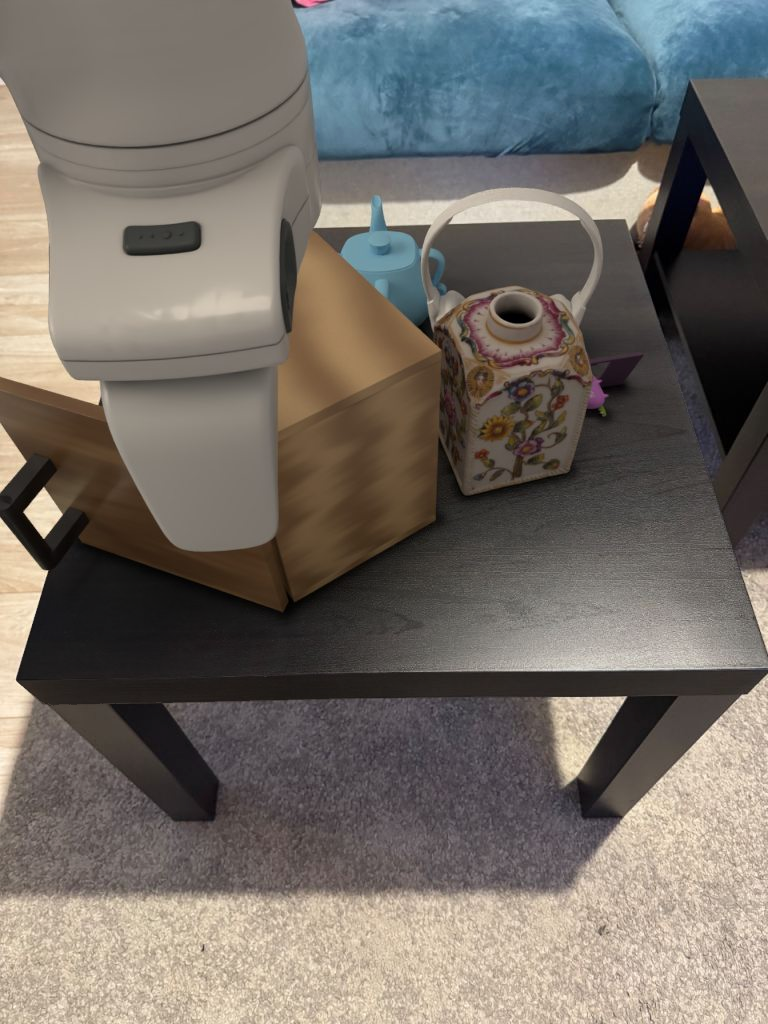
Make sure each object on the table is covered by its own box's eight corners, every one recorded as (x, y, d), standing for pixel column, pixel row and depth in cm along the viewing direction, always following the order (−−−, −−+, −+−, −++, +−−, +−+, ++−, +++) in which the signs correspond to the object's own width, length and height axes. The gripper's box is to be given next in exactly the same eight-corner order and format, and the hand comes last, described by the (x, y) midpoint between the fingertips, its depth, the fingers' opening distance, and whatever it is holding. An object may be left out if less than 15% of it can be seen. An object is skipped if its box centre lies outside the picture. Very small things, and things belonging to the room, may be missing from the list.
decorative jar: (428, 417, 80) (431, 278, 65) (529, 395, 81) (554, 254, 66) (462, 501, 73) (474, 368, 58) (572, 476, 74) (610, 340, 60)
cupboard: (294, 602, 67) (249, 445, 49) (193, 452, 78) (126, 280, 60) (435, 520, 72) (442, 350, 54) (321, 390, 83) (295, 212, 65)
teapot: (377, 370, 85) (377, 292, 76) (300, 308, 91) (291, 229, 81) (454, 320, 90) (462, 241, 80) (376, 265, 95) (376, 185, 86)
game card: (641, 345, 75) (557, 358, 75) (656, 390, 74) (570, 404, 73) (619, 374, 82) (542, 387, 81) (632, 417, 80) (553, 430, 80)
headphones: (422, 329, 88) (424, 170, 72) (577, 335, 86) (615, 173, 70) (418, 371, 84) (418, 212, 68) (581, 378, 82) (621, 217, 66)
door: (253, 668, 63) (190, 527, 46) (45, 591, 68) (-84, 438, 51) (288, 601, 67) (242, 446, 49) (88, 533, 72) (-18, 371, 55)
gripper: (130, 38, 31) (205, 305, 42) (34, 384, 19) (175, 628, 30) (281, 28, 31) (315, 297, 42) (281, 365, 19) (329, 615, 30)
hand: (256, 437), depth 36 cm, fingers open, 8 cm apart
